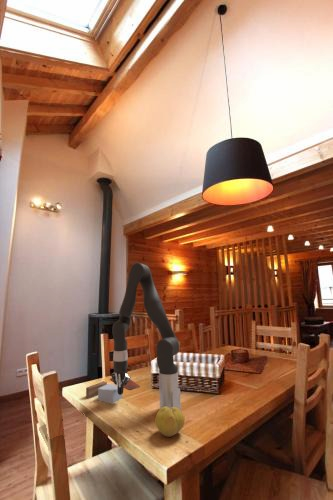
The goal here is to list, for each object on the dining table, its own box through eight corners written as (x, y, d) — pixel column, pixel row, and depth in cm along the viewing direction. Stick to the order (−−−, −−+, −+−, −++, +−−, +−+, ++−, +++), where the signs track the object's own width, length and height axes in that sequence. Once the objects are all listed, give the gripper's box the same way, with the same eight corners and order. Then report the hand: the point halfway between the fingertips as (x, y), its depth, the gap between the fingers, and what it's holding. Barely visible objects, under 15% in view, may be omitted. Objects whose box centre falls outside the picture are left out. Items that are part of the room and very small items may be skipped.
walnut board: (106, 391, 149) (107, 382, 150) (89, 398, 139) (89, 388, 140) (103, 390, 151) (103, 381, 151) (86, 397, 141) (86, 387, 142)
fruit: (179, 445, 95) (178, 415, 96) (150, 439, 99) (150, 411, 100) (188, 430, 105) (187, 403, 106) (161, 425, 109) (161, 400, 111)
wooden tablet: (109, 380, 170) (109, 377, 170) (123, 377, 176) (123, 374, 176) (127, 392, 149) (127, 388, 149) (142, 387, 154) (142, 385, 155)
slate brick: (122, 398, 139) (122, 386, 140) (112, 404, 132) (112, 391, 133) (108, 395, 144) (108, 383, 145) (97, 400, 137) (98, 388, 138)
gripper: (134, 359, 136) (134, 394, 133) (117, 355, 143) (117, 389, 141) (124, 362, 130) (123, 399, 127) (106, 358, 138) (106, 393, 135)
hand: (120, 394), depth 134 cm, fingers closed
